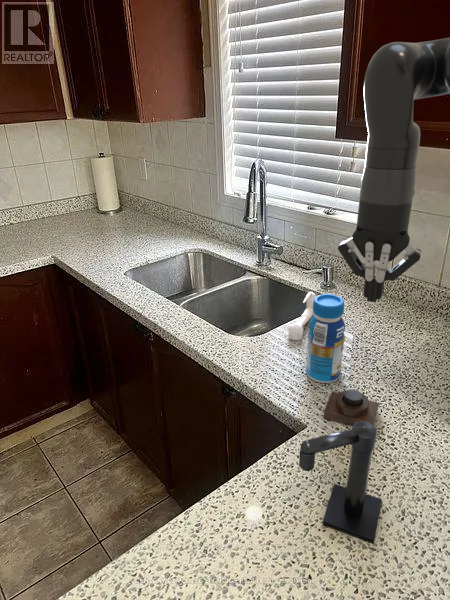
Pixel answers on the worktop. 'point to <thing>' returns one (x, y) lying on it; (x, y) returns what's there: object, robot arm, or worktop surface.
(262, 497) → the worktop surface
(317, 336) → the beverage bottle
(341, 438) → the spout
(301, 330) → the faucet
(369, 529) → the tap body
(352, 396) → the pump button
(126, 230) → the worktop surface
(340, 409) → the brown button base
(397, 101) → the robot arm
